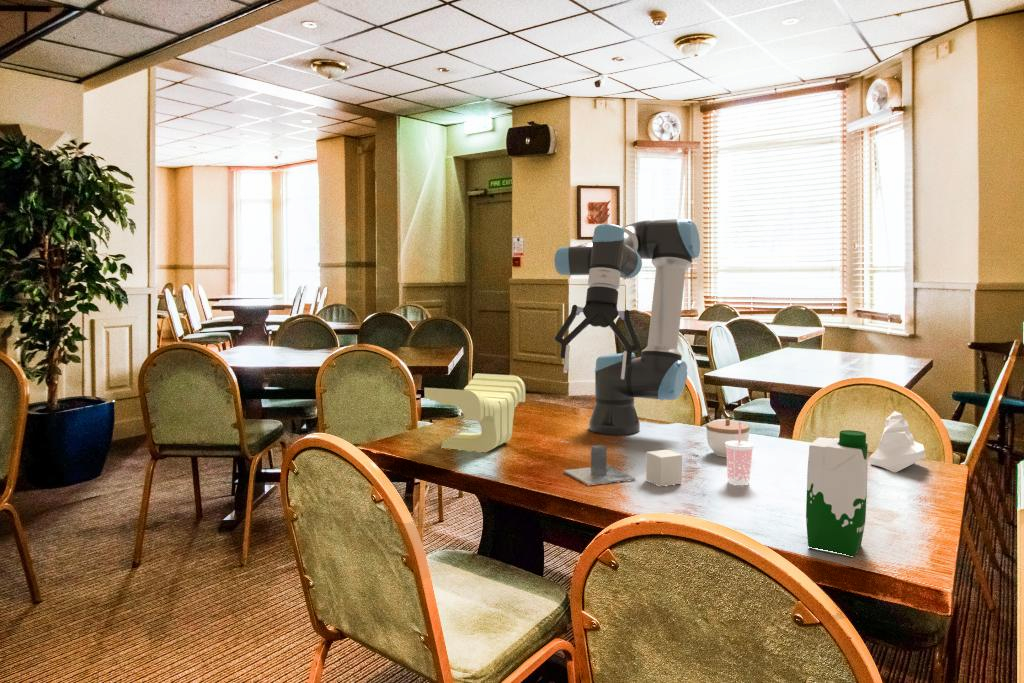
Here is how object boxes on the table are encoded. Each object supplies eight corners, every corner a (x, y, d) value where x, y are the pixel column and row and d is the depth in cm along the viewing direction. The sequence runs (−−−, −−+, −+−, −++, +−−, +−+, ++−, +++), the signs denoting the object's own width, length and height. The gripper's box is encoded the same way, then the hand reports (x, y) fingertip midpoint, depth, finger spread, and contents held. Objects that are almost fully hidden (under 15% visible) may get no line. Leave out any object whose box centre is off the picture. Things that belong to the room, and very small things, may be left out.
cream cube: (666, 477, 164) (667, 449, 164) (681, 484, 159) (682, 455, 159) (646, 480, 162) (646, 451, 162) (660, 487, 157) (661, 457, 157)
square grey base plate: (607, 467, 174) (608, 439, 173) (635, 480, 162) (635, 449, 162) (563, 472, 169) (563, 443, 168) (588, 486, 158) (588, 455, 157)
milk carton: (859, 561, 116) (864, 439, 114) (800, 549, 121) (804, 432, 119) (867, 544, 123) (872, 429, 121) (811, 534, 128) (815, 423, 126)
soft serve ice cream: (864, 475, 172) (852, 416, 174) (882, 468, 183) (871, 413, 185) (921, 471, 163) (908, 409, 166) (937, 464, 175) (924, 406, 177)
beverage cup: (757, 482, 160) (759, 421, 159) (745, 488, 156) (747, 425, 155) (731, 477, 164) (732, 417, 163) (719, 483, 160) (720, 421, 159)
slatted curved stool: (480, 461, 180) (480, 391, 178) (425, 455, 186) (424, 387, 184) (525, 437, 207) (525, 376, 206) (475, 432, 213) (475, 373, 212)
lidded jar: (755, 454, 186) (756, 418, 186) (737, 462, 179) (738, 424, 178) (717, 447, 194) (718, 413, 193) (698, 454, 186) (698, 419, 185)
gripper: (550, 280, 171) (540, 368, 168) (656, 290, 167) (647, 380, 165) (552, 287, 178) (543, 371, 176) (654, 296, 175) (645, 382, 172)
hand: (593, 376), depth 170 cm, fingers open, 13 cm apart
